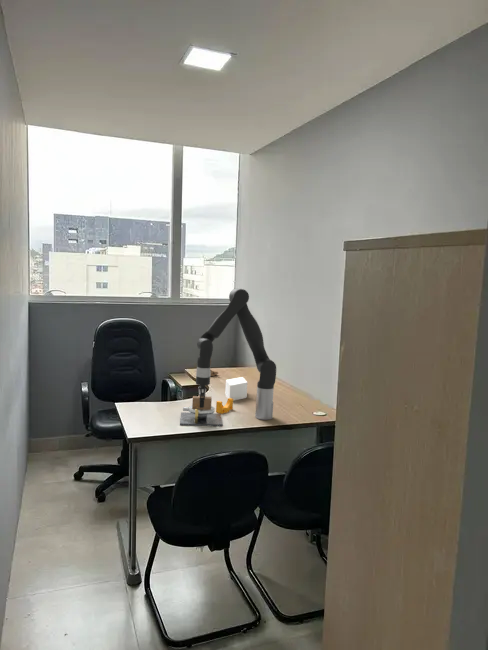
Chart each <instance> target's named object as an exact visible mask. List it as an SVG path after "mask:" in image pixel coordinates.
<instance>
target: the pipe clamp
mask: <svg viewBox="0 0 488 650" xmlns="http://www.w3.org/2000/svg"><path fill="white" fill-rule="evenodd" d="M215 405H216V406H215V413H220V414H221V415H223V414H227V413H229V412H230V411H232V410H233V409H234V401H233V399H232V398H228V399H227V402H226V403H225V404H224V405H223V401H220V400H217V401H216V404H215Z"/></svg>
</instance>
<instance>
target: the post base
mask: <svg viewBox="0 0 488 650" xmlns="http://www.w3.org/2000/svg"><path fill="white" fill-rule="evenodd" d="M179 418H180V419H179V426H193V427H194V426H195V427H196V426H197V427H223V424H224V423H223V420H222V419H223V418H222V414H220V413H217V412H214V413H212V414H207V415H198V423H195V414H193V413H190V412H187V411H183V412H182V411H181V412H180V417H179Z"/></svg>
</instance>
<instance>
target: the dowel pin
mask: <svg viewBox="0 0 488 650" xmlns="http://www.w3.org/2000/svg"><path fill="white" fill-rule="evenodd" d="M195 423H198V409H195Z"/></svg>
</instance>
